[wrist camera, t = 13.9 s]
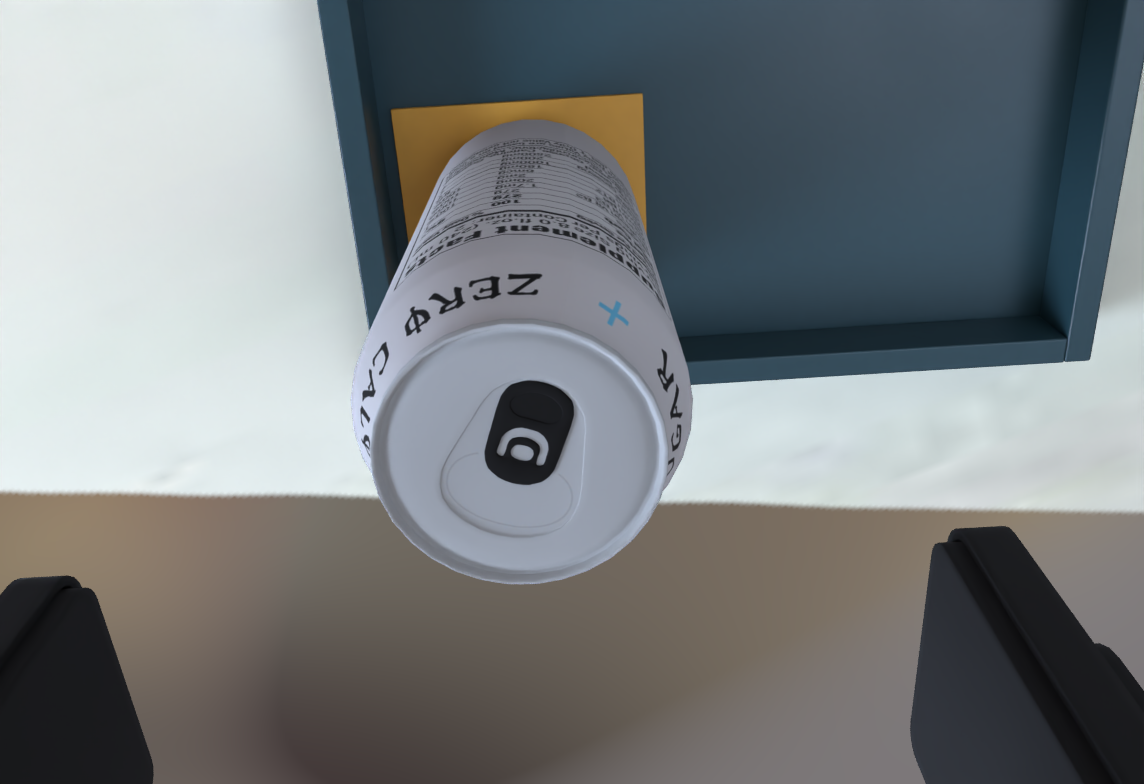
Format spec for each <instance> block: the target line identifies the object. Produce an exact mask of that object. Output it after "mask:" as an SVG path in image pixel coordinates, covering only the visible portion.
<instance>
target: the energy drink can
mask: <svg viewBox="0 0 1144 784" xmlns="http://www.w3.org/2000/svg"><path fill="white" fill-rule="evenodd" d="M692 404H693V397H692V391H691V385H690V378H689V372H688V367H687V364H686V361H685V358H684V354H683V351H682V348H681V345H680V342H679V338H678V335H677V332H676V329H675V325H674V322H673V319H672V316H671V313H670V309H669V306H668V303H667V300H666V296H665V293H664V290H663V287H662V284H661V280H660V277H659V274H658V271H657V268H656V264H655V261H654V258H653V255H652V251H651V248H650V245H649V242H648V239H647V235H646V232H645V229H644V226H643V222H642V219H641V216H640V213H639V210H638V206H637V203H636V200H635V197H634V194H633V191H632V189H631V186H630V183H629V181H628V178H627V176H626V174H625V173H624V171H623V170H622V168H621V167H620V165H619V164H618V162H617V160H616V159H615V158H614V157H613V156H612V155H611V154H610V153H609V152H608V151H607V150H606V149H605V148H604V147H603V146H602V144H600V143H599V142H597V141H596V140H594V139H593V138H591V137H590V136H588V135H587V134H586V133H584V132H582V131H580V130H577V129H575V128H573V127H570V126H568V125H566V124H562V123H557V122H552V121H547V120H518V121H513V122H508V123H503V124H500V125H497V126H495V127H493V128H490V129H488V130H486V131H483V132H481V133H480V134H478V135H477V136H475V137H474V138H473V139H471V140H470V141H468V142H467V143H465V144H464V145H463V146H462V147H461V148H460V149H459V150H458V151H457V153H456V154H455V155H454V156H453V157H452V158H451V159H450V160H449V162H448V164H447V165H446V167H445V168H444V170H443V172H442V173H441V175H440V177H439V179H438V181H437V183H436V185H435V188H434V190H433V192H432V194H431V196H430V199H429V201H428V203H427V205H426V207H425V210H424V212H423V214H422V216H421V218H420V221H419V223H418V225H417V227H416V229H415V232H414V234H413V236H412V238H411V241H410V243H409V245H408V247H407V249H406V252H405V254H404V256H403V258H402V260H401V263H400V265H399V267H398V269H397V271H396V274H395V276H394V278H393V280H392V282H391V285H390V287H389V289H388V291H387V293H386V296H385V298H384V300H383V302H382V304H381V307H380V309H379V311H378V313H377V315H376V318H375V320H374V322H373V324H372V327H371V329H370V331H369V333H368V335H367V338H366V340H365V342H364V345H363V348H362V351H361V353H360V356H359V359H358V362H357V365H356V367H355V371H354V379H353V387H352V395H351V406H352V416H353V426H354V432H355V435H356V438H357V441H358V444H359V447H360V451H361V454H362V457H363V459H364V461H365V463H366V465H367V466H368V468H369V470H370V472H371V473H372V477H373V480H374V483H375V486H376V489H377V492H378V495H379V498H380V501H381V502H382V504H383V506H384V507H385V509H386V511H387V513H388V514H389V516H390V518H391V520H392V521H393V523H394V524H395V525H396V526H397V527H398V528H399V530H400V531H401V532H402V533H403V534H404V535H405V536H406V537H407V539H408V540H409V541H410V542H411V543H412V544H414V545H415V546H416V547H418V548H419V549H420V550H421V551H423V552H424V553H425V554H426V555H428V556H429V557H430V558H432V559H433V560H435V561H437V562H439V563H441V564H443V565H445V566H447V567H449V568H450V569H452V570H454V571H456V572H459V573H463V574H466V575H468V576H472V577H474V578H477V579H480V580H486V581H493V582H499V583H505V584H538V583H543V582H550V581H556V580H561V579H565V578H568V577H571V576H574V575H576V574H579V573H582V572H585V571H588V570H590V569H591V568H593V567H595V566H597V565H599V564H601V563H602V562H604V561H606V560H608V559H610V558H611V557H613V556H614V555H615V554H616V553H618V552H619V551H620V550H621V549H622V548H624V547H625V546H626V545H627V544H628V543H630V542H631V541H632V540H633V539H634V538H635V536H636V535H637V534H638V533H639V532H640V530H641V529H642V528H643V527H644V525H645V524H646V523H647V522H648V521H649V519H650V517H651V515H652V513H653V511H654V510H655V508H656V506H657V504H658V502H659V500H660V498H661V495H662V491H663V490H664V489H665V488H666V487H667V485H668V484H669V482H670V480H671V478H672V477H673V475H674V473H675V471H676V469H677V467H678V465H679V463H680V462H681V460H682V458H683V455H684V451H685V448H686V444H687V441H688V437H689V434H690V430H691V419H692Z"/></svg>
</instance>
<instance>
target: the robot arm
mask: <svg viewBox="0 0 1144 784" xmlns="http://www.w3.org/2000/svg"><path fill="white" fill-rule="evenodd" d="M910 727H911V728H910V731H911V741H912V747H913V751H914V755H915V758H916V761H917V763H918V766H919V768H920V770H921V773H922V775H923V778H924V780H925V783H926V784H1144V691H1143V689H1142V688H1141V687H1140V685H1139V684H1138V682H1137V681H1136V680H1135V678H1134V677H1133V676H1132V674H1131V673H1130V672H1129V670H1128V669H1127V668H1126V666H1125V665H1124V664H1123V662H1122V661H1121V660H1120V658H1119V657H1118V656H1117V655H1116V654H1115V653H1114V652H1113V651H1112V650H1111V649H1110V648H1109V647H1106V646H1104V645H1102V644H1100V643H1099V644H1094V642H1092V640H1091V638H1090V637H1089V636H1088V634H1087V633H1086V632H1085V630H1084V629H1083V627H1082V626H1081V625H1080V623H1079V622H1078V620H1077V619H1076V618H1075V616H1074V615H1073V613H1072V612H1071V611H1070V609H1069V608H1068V606H1067V605H1066V604H1065V602H1064V601H1063V599H1062V598H1061V597H1060V595H1059V594H1058V593H1057V591H1056V590H1055V588H1054V587H1053V586H1052V584H1051V583H1050V582H1049V580H1048V579H1047V577H1046V576H1045V575H1044V573H1043V572H1042V570H1041V569H1040V568H1039V566H1038V565H1037V563H1036V562H1035V561H1034V559H1033V558H1032V556H1031V555H1030V554H1029V552H1028V551H1027V549H1026V548H1025V547H1024V545H1023V544H1022V543H1021V541H1020V540H1019V539H1018V537H1017V536H1016V534H1015V533H1014V532H1013V531H1012V530H1011V529H1010V528H1009V527H1006V526H997V527H978V528H960V529H954V530H952V531H951V533H950V535H949V537H948V541H947V542H945V543H937V544H935V546H934V548H933V550H932V555H931V563H930V571H929V579H928V587H927V595H926V604H925V611H924V619H923V627H922V635H921V643H920V651H919V659H918V667H917V675H916V684H915V691H914V699H913V707H912V716H911V726H910ZM152 783H153V763H152V759H151V756H150V753H149V750H148V747H147V744H146V741H145V738H144V735H143V732H142V729H141V726H140V723H139V720H138V717H137V715H136V711H135V708H134V705H133V703H132V700H131V697H130V694H129V691H128V688H127V685H126V682H125V679H124V676H123V673H122V670H121V667H120V664H119V661H118V658H117V655H116V652H115V649H114V646H113V644H112V641H111V638H110V634H109V631H108V629H107V626H106V623H105V620H104V617H103V614H102V611H101V608H100V605H99V602H98V599H97V597H96V595H95V593H94V592H93V591H92V590H91V589H89V588H82V587H81V585H80V583H79V582H78V581H77V580H76V579H75V578H74V577H71V576H52V577H34V578H20V579H17V580H14V581H13V582H12V583H11V584H10V585H8V586H7V588H6V589H5V590H4V591H3V592H2V594H1V595H0V784H152Z"/></svg>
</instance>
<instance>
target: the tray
mask: <svg viewBox="0 0 1144 784" xmlns="http://www.w3.org/2000/svg"><path fill="white" fill-rule="evenodd" d="M317 4H318V11H319V17H320V24H321V30H322V36H323V43H324V49H325V55H326V62H327V68H328V74H329V81H330V87H331V93H332V100H333V106H334V112H335V119H336V125H337V131H338V138H339V144H340V150H341V157H342V163H343V169H344V176H345V182H346V188H347V195H348V201H349V207H350V214H351V220H352V226H353V233H354V239H355V246H356V252H357V258H358V265H359V271H360V277H361V284H362V290H363V296H364V303H365V309H366V315H367V322H368V328H369V331H370V329H371V327H372V324H373V322H374V320H375V318H376V315H377V313H378V311H379V309H380V307H381V304H382V302H383V300H384V298H385V296H386V293H387V291H388V289H389V287H390V285H391V282H392V280H393V278H394V276H395V274H396V271H397V269H398V267H399V265H400V263H401V260H402V258H403V256H404V254H405V252H406V249H407V247H408V245H409V244H408V237H407V229H406V222H405V214H404V207H403V199H402V192H401V184H400V177H399V169H398V162H397V154H396V147H395V140H394V132H393V125H392V117H391V109H395V108H411V107H426V106H442V105H458V104H474V103H489V102H505V101H521V100H537V99H553V98H568V97H584V96H600V95H616V94H631V93H642V94H643V120H644V157H645V194H646V231H647V239H648V242H649V245H650V248H651V251H652V255H653V258H654V261H655V264H656V268H657V271H658V274H659V277H660V280H661V284H662V287H663V290H664V293H665V296H666V300H667V303H668V306H669V309H670V313H671V316H672V319H673V322H674V325H675V329H676V332H677V335H678V338H679V342H680V345H681V348H682V351H683V354H684V358H685V361H686V364H687V367H688V372H689V378H690V385H697V384H713V383H729V382H746V381H762V380H779V379H795V378H812V377H828V376H845V375H861V374H878V373H894V372H911V371H927V370H944V369H960V368H977V367H993V366H1010V365H1026V364H1043V363H1059V362H1063V361H1065V362H1071V361H1087V360H1090V357H1091V351H1092V345H1093V340H1094V334H1095V329H1096V323H1097V318H1098V312H1099V307H1100V301H1101V296H1102V290H1103V285H1104V279H1105V273H1106V268H1107V262H1108V257H1109V251H1110V246H1111V240H1112V235H1113V229H1114V224H1115V218H1116V213H1117V207H1118V201H1119V196H1120V190H1121V185H1122V179H1123V174H1124V168H1125V163H1126V157H1127V152H1128V146H1129V141H1130V135H1131V129H1132V124H1133V118H1134V113H1135V107H1136V102H1137V96H1138V91H1139V85H1140V80H1141V74H1142V69H1143V63H1144V0H317Z"/></svg>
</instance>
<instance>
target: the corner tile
mask: <svg viewBox="0 0 1144 784" xmlns="http://www.w3.org/2000/svg"><path fill="white" fill-rule="evenodd" d="M391 117H392V125H393V132H394V140H395V147H396V154H397V162H398V169H399V177H400V184H401V192H402V199H403V207H404V214H405V222H406V229H407V237H408V244H409V243H410V241H411V238H412V236H413V234H414V232H415V229H416V227H417V225H418V223H419V221H420V218H421V216H422V214H423V212H424V210H425V207H426V205H427V203H428V201H429V199H430V196H431V194H432V192H433V190H434V188H435V185H436V183H437V181H438V179H439V177H440V175H441V173H442V172H443V170H444V168H445V167H446V165H447V164H448V162H449V160H450V159H451V158H452V157H453V156H454V155H455V154H456V153H457V151H458V150H459V149H460V148H461V147H462V146H463V145H464V144H465V143H467V142H468V141H470V140H471V139H473V138H474V137H475V136H477V135H478V134H480V133H481V132H483V131H486V130H488V129H490V128H493V127H495V126H497V125H500V124H503V123H508V122H513V121H518V120H547V121H552V122H557V123H562V124H566V125H568V126H570V127H573V128H575V129H577V130H580V131H582V132H584V133H586V134H587V135H588V136H590V137H591V138H593V139H594V140H596V141H597V142H599V143H600V144H602V146H603V147H604V148H605V149H606V150H607V151H608V152H609V153H610V154H611V155H612V156H613V157H614V158H615V159H616V160H617V162H618V164H619V165H620V167H621V168H622V170H623V171H624V173H625V174H626V176H627V178H628V181H629V183H630V186H631V189H632V191H633V194H634V197H635V200H636V203H637V206H638V210H639V213H640V216H641V219H642V222H643V226H644V229H645V232H646V235H647V231H646V194H645V157H644V120H643V94H642V93H631V94H616V95H600V96H584V97H568V98H553V99H537V100H521V101H505V102H489V103H474V104H458V105H442V106H426V107H411V108H395V109H391Z"/></svg>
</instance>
